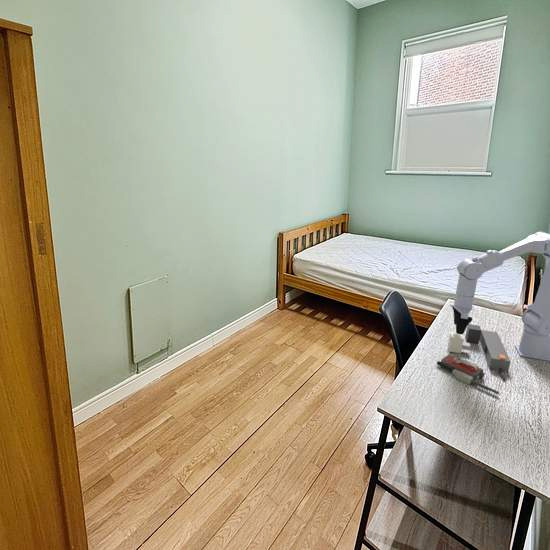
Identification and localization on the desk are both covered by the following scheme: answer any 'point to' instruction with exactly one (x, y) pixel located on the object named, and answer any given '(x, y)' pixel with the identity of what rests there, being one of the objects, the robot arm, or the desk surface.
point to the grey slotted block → (489, 348)
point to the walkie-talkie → (464, 371)
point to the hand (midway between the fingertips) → (458, 329)
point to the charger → (457, 343)
